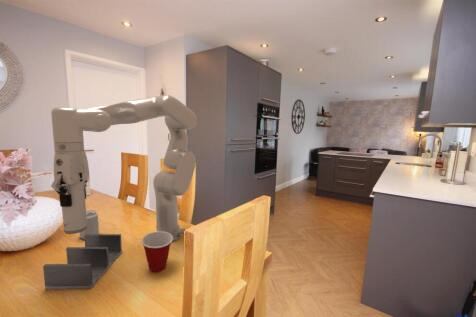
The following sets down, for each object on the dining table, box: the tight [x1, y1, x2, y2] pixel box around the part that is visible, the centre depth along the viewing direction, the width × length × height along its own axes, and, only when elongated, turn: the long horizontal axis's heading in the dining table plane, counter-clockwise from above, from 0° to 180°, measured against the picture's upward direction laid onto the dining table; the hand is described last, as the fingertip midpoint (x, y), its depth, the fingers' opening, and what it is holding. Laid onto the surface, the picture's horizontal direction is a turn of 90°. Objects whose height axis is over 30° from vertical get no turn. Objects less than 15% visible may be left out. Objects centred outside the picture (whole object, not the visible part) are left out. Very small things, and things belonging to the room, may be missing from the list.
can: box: [79, 209, 100, 240], centre depth 103 cm, size 8×8×12 cm
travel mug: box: [61, 172, 87, 235], centre depth 72 cm, size 6×7×20 cm
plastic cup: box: [141, 231, 173, 274], centre depth 81 cm, size 11×11×12 cm
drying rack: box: [42, 233, 123, 290], centre depth 80 cm, size 14×21×8 cm, turn 3°
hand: (74, 202), depth 72 cm, fingers closed on travel mug, 6 cm apart
